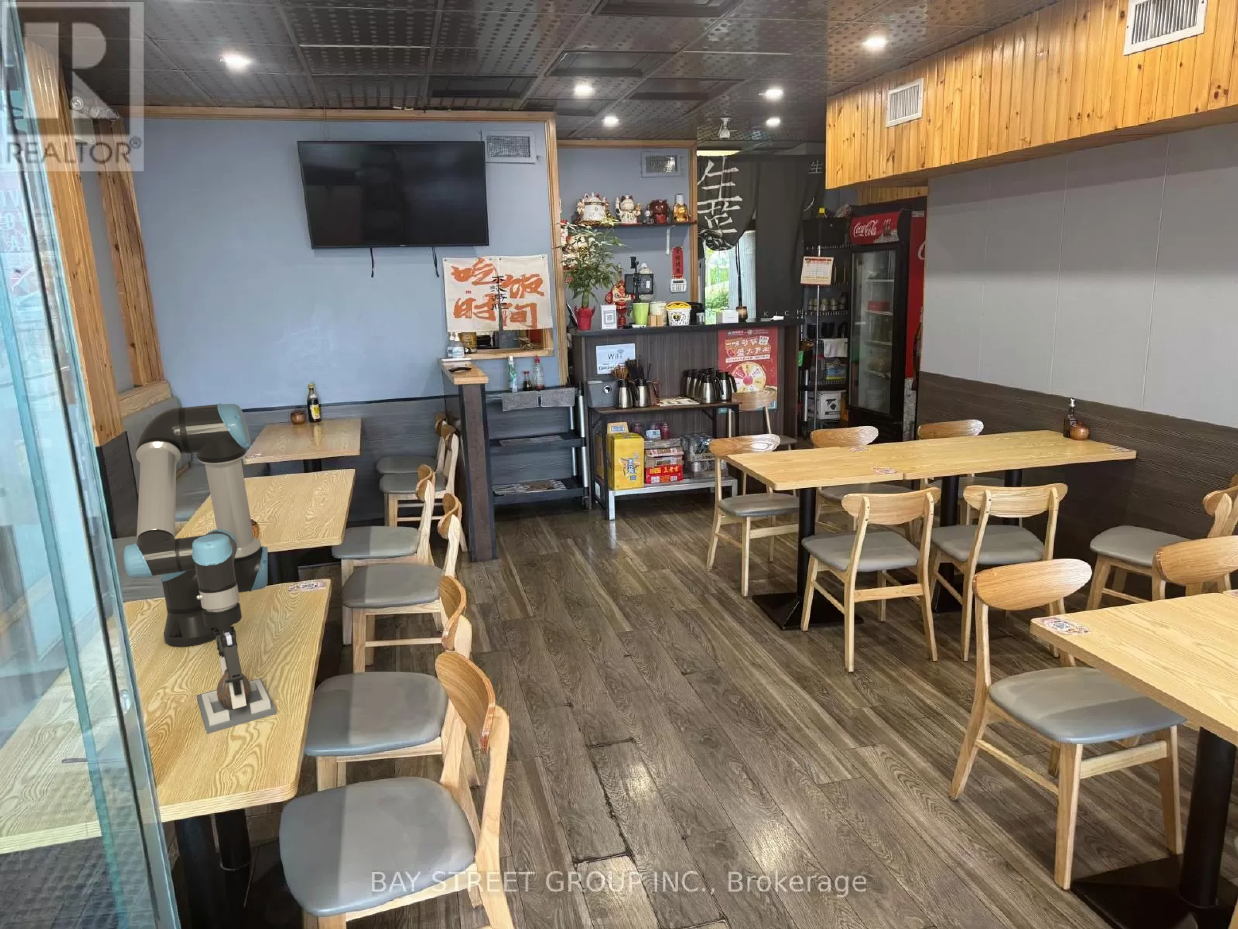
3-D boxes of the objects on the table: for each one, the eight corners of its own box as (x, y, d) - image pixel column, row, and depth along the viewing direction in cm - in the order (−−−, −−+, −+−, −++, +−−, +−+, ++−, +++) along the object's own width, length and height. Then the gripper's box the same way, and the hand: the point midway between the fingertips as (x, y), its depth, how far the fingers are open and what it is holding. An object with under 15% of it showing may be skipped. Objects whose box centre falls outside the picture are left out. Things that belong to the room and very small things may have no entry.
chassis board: (197, 699, 193) (195, 687, 192) (261, 682, 200) (259, 670, 199) (206, 733, 178) (204, 720, 177) (276, 713, 185) (274, 700, 184)
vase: (243, 694, 192) (238, 659, 190) (258, 703, 187) (253, 667, 185) (213, 707, 186) (207, 671, 184) (228, 716, 182) (222, 679, 180)
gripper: (195, 592, 190) (209, 677, 195) (209, 628, 169) (224, 723, 174) (230, 585, 194) (243, 668, 198) (248, 619, 173) (262, 712, 178)
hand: (234, 694), depth 186 cm, fingers open, 13 cm apart
